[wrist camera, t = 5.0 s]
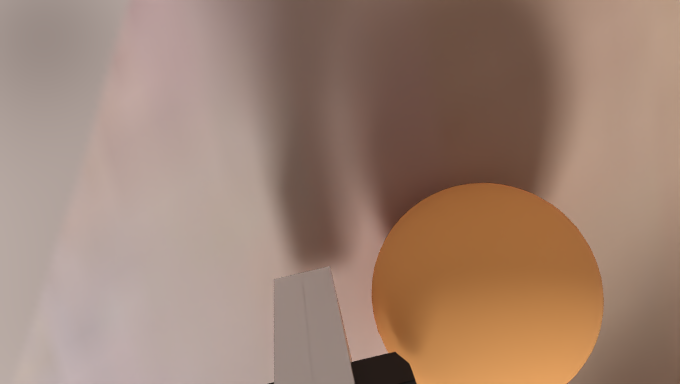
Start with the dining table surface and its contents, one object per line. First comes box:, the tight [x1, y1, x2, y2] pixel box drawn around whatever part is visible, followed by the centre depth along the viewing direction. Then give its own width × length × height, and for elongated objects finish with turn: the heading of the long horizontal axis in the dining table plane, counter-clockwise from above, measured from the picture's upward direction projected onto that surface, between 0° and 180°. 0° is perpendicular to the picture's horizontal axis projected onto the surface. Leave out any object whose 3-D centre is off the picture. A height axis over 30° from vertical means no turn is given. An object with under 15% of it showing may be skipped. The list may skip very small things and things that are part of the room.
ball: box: [372, 183, 604, 384], centre depth 15 cm, size 6×6×6 cm
